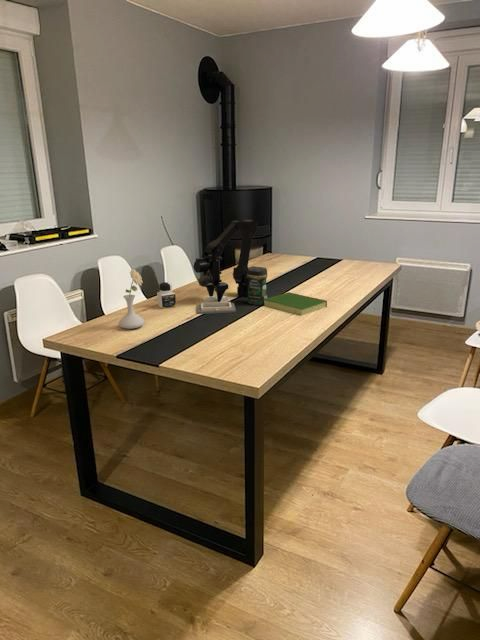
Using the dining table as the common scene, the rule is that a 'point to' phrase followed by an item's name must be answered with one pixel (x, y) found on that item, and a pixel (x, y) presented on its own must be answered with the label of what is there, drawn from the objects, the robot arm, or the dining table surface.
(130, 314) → the flower in vase
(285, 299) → the hardcover book
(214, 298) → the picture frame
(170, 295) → the medicine bottle
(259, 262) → the dining table surface
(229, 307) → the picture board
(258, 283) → the coffee jar
